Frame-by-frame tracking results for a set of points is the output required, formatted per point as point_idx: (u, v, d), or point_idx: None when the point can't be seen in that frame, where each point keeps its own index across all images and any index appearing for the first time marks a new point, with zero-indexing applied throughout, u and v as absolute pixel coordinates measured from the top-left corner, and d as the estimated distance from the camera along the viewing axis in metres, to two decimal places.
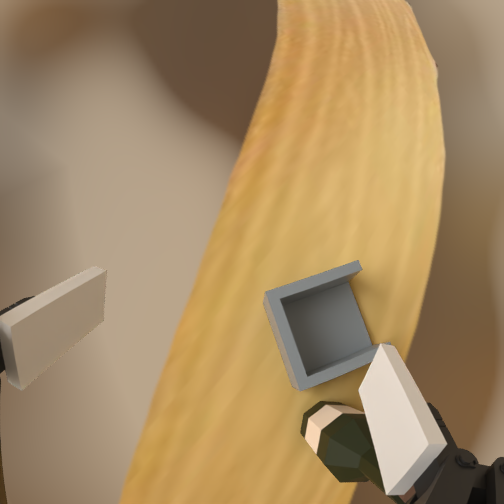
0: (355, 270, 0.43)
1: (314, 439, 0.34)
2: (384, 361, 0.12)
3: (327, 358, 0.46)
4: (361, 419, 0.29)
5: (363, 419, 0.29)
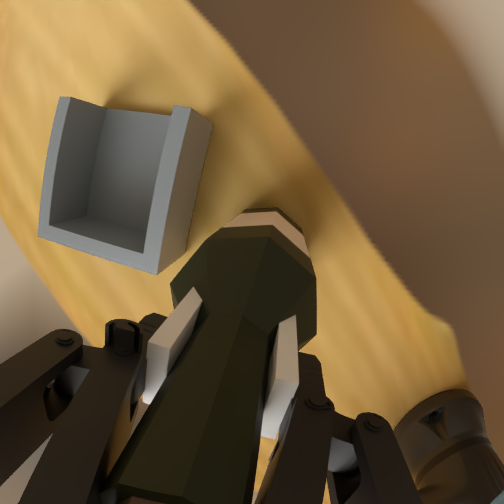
0: (66, 107, 0.24)
1: None
2: None
3: None
4: (180, 272, 0.17)
5: (183, 269, 0.17)
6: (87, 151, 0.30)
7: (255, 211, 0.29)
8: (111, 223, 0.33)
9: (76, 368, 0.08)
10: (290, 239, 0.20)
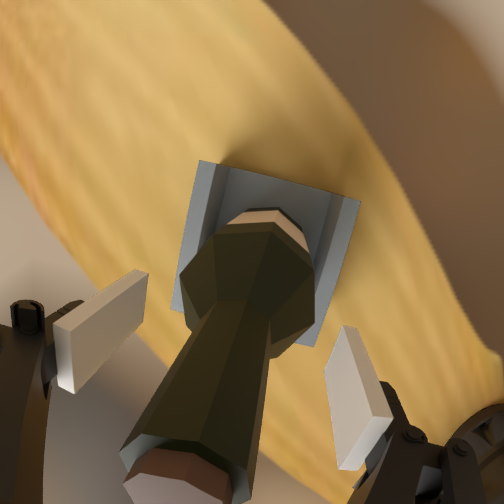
0: (211, 175, 0.26)
1: None
2: (344, 341, 0.13)
3: None
4: (188, 264, 0.18)
5: (191, 261, 0.18)
6: (215, 215, 0.32)
7: (257, 210, 0.31)
8: None
9: None
10: (290, 235, 0.22)
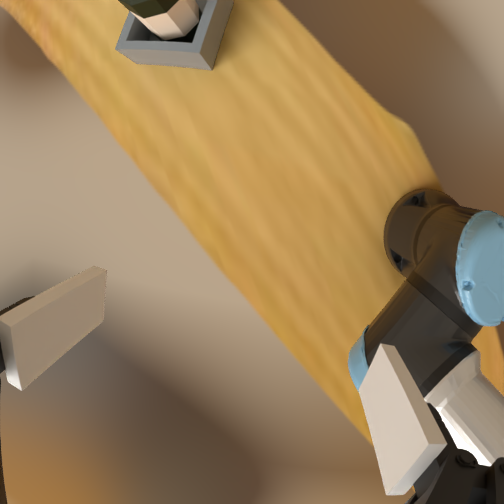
0: None
1: (144, 21, 0.34)
2: (384, 361, 0.12)
3: None
4: None
5: None
6: None
7: None
8: None
9: None
10: None
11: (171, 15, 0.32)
